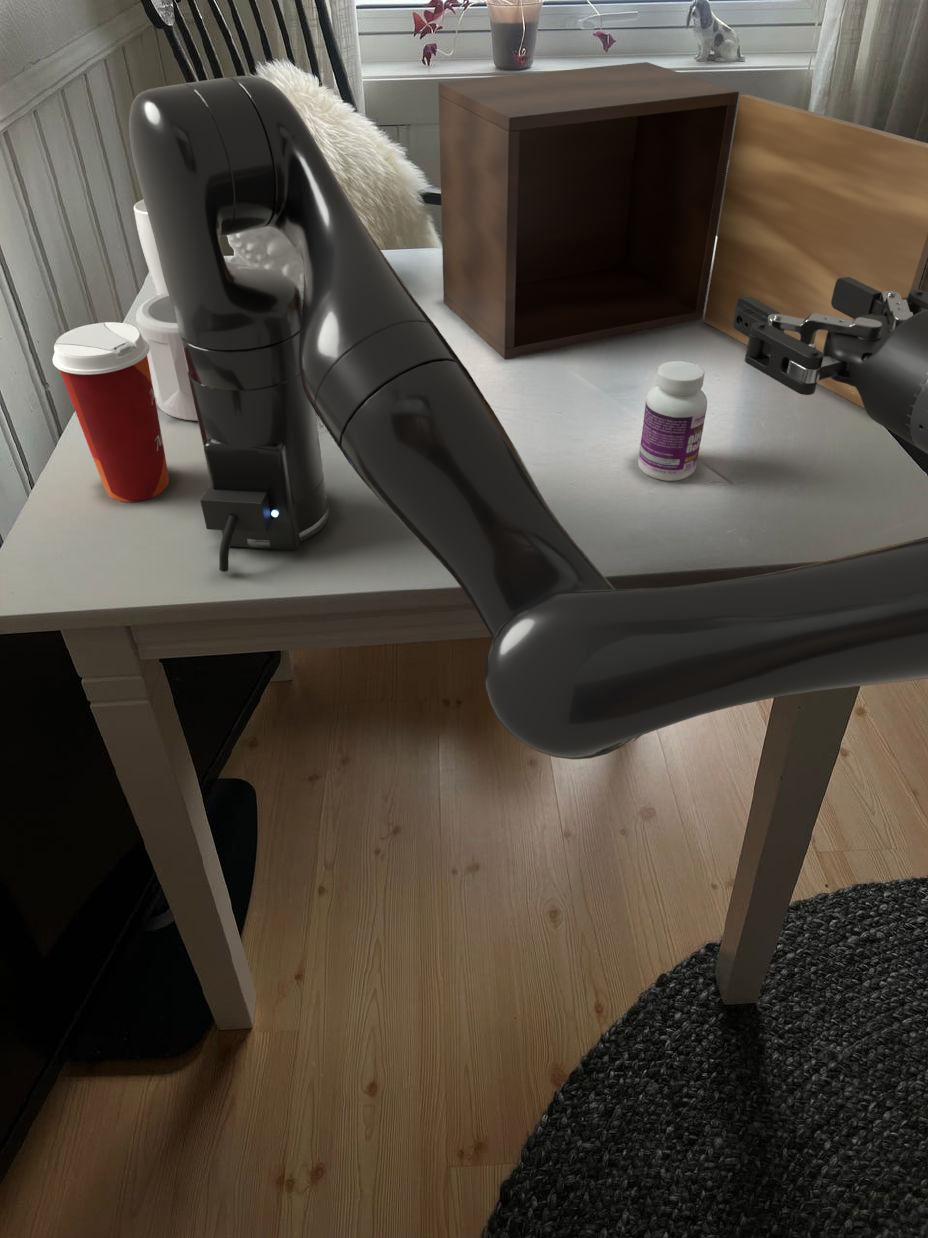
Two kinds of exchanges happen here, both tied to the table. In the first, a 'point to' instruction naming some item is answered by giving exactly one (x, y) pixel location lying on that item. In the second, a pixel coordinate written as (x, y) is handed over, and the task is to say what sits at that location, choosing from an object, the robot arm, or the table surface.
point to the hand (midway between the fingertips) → (789, 300)
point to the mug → (166, 357)
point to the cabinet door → (816, 216)
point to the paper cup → (115, 406)
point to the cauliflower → (267, 253)
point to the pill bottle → (673, 422)
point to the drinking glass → (149, 247)
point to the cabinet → (580, 201)
